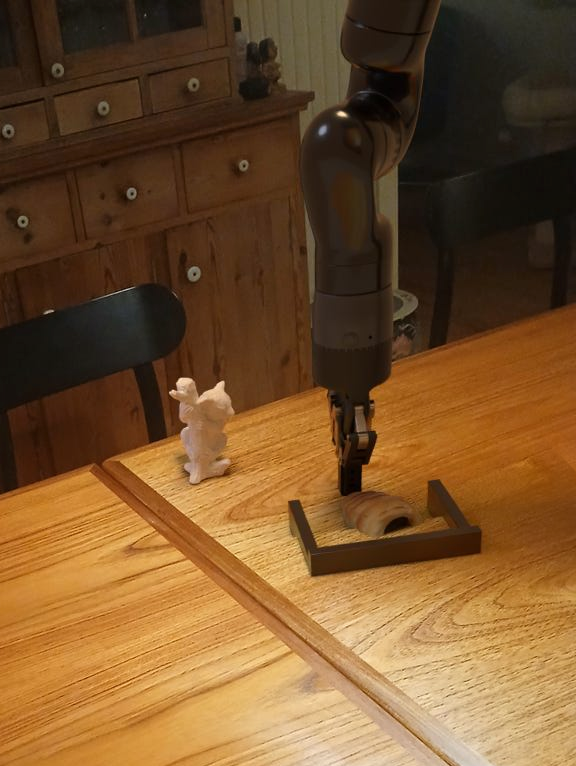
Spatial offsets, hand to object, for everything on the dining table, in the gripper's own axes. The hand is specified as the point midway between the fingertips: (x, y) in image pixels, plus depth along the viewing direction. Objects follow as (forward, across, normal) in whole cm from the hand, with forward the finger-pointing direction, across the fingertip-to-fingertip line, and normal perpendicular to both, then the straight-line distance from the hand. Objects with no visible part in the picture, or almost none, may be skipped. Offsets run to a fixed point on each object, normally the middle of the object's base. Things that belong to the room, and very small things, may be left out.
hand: (349, 492), depth 104 cm
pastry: (+1, -6, -2) cm, 7 cm away
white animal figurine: (+2, +13, +14) cm, 19 cm away
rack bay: (+1, -9, -1) cm, 9 cm away
